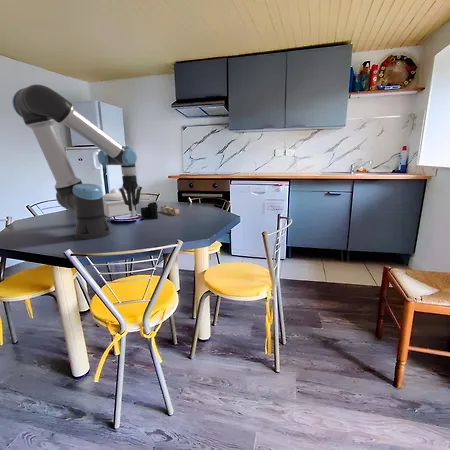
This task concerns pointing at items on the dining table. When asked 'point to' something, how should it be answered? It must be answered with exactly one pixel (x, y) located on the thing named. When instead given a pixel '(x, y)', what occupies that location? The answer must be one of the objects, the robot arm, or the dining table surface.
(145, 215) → the film camera
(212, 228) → the dining table surface
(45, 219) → the dining table surface
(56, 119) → the robot arm
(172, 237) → the dining table surface
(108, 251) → the dining table surface
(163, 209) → the oak ledge rail
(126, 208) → the white lidded box
